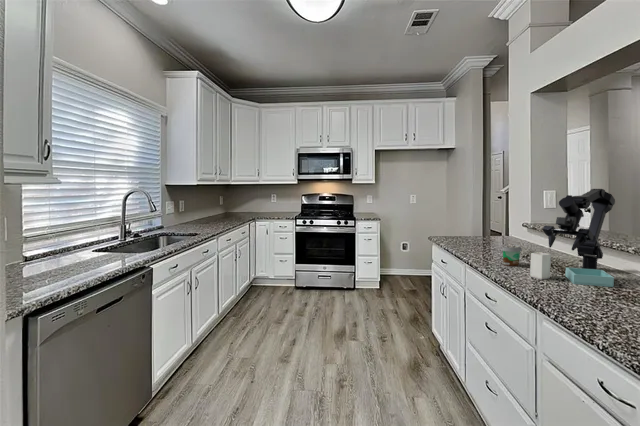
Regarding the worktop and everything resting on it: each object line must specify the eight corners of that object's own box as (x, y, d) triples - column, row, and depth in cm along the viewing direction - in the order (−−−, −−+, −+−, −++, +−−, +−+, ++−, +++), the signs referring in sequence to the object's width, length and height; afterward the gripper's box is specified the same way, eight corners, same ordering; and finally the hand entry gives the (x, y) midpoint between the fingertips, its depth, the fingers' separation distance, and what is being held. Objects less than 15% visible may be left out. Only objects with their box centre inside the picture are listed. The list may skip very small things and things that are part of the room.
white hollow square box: (530, 276, 161) (530, 253, 160) (538, 275, 163) (539, 252, 162) (541, 279, 156) (542, 255, 155) (549, 278, 158) (550, 254, 157)
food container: (513, 268, 177) (514, 248, 177) (501, 265, 182) (502, 246, 182) (526, 264, 184) (526, 246, 183) (514, 262, 189) (514, 244, 188)
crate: (565, 275, 161) (565, 267, 161) (601, 278, 156) (602, 269, 155) (573, 283, 148) (573, 274, 148) (613, 286, 143) (613, 277, 143)
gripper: (543, 208, 165) (531, 236, 161) (590, 210, 149) (578, 241, 145) (552, 221, 170) (541, 249, 166) (598, 225, 154) (587, 255, 150)
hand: (560, 248), depth 156 cm, fingers open, 9 cm apart
